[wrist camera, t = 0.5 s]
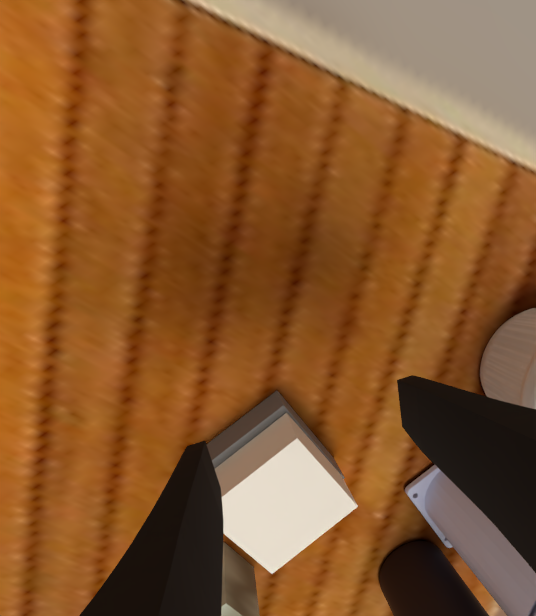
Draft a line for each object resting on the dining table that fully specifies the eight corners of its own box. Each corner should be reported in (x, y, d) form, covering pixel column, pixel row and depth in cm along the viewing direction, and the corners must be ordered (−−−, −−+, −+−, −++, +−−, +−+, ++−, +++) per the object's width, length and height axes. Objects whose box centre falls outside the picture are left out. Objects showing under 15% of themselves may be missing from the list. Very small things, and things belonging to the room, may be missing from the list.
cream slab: (341, 475, 20) (357, 506, 18) (265, 534, 20) (272, 573, 18) (286, 412, 18) (297, 438, 16) (202, 478, 18) (200, 513, 16)
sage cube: (253, 566, 23) (261, 629, 19) (215, 595, 23) (215, 664, 19) (224, 541, 22) (226, 603, 18) (184, 571, 22) (177, 640, 18)
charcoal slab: (331, 453, 23) (344, 477, 20) (253, 513, 22) (258, 545, 20) (275, 386, 20) (283, 405, 18) (189, 452, 20) (185, 480, 18)
